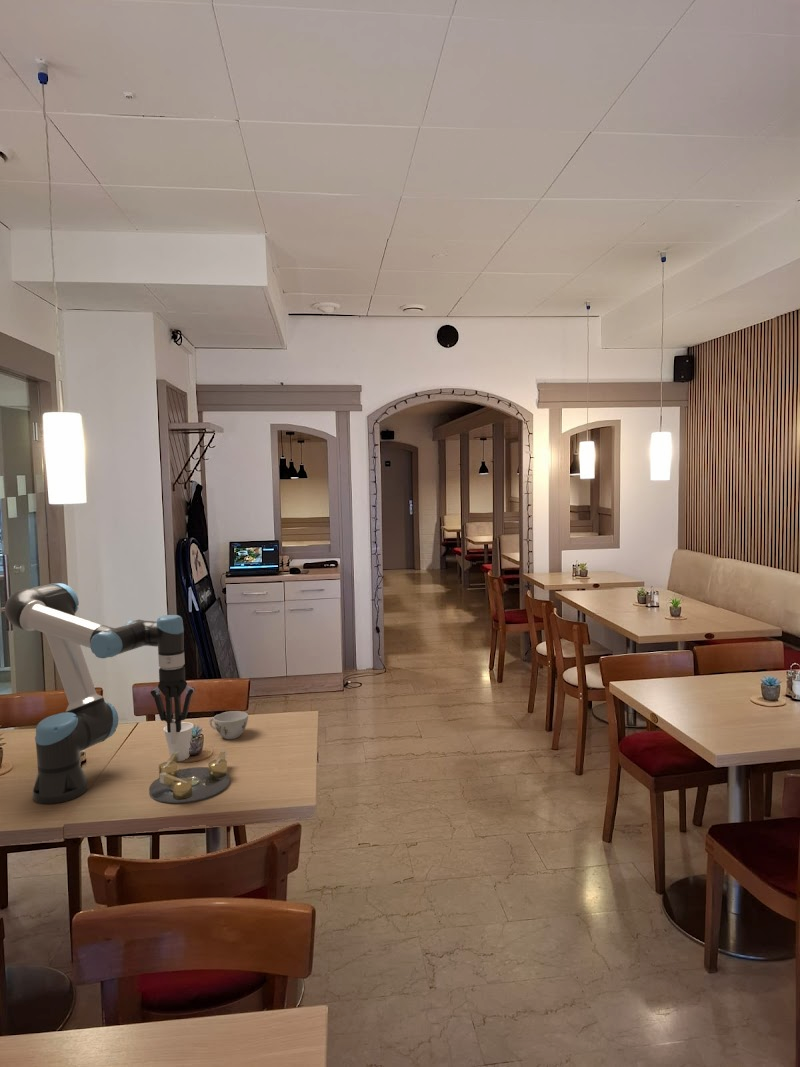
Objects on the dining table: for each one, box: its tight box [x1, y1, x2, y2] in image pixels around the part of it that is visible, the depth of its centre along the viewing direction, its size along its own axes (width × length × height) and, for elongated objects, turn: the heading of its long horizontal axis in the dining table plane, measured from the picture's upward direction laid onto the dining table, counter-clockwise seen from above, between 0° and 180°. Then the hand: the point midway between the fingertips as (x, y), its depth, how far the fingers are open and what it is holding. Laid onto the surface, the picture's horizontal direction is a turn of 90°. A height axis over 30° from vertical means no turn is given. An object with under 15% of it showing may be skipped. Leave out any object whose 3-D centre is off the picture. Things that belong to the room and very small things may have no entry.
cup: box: [162, 721, 194, 762], centre depth 242 cm, size 10×10×11 cm
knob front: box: [160, 772, 192, 799], centre depth 213 cm, size 13×6×4 cm, turn 53°
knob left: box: [158, 751, 179, 779], centre depth 227 cm, size 13×6×4 cm, turn 3°
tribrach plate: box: [148, 766, 231, 805], centre depth 220 cm, size 24×24×2 cm
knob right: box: [208, 748, 228, 779], centre depth 228 cm, size 13×6×4 cm, turn 3°
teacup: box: [209, 710, 249, 740], centre depth 262 cm, size 15×12×8 cm
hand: (174, 742), depth 216 cm, fingers closed
